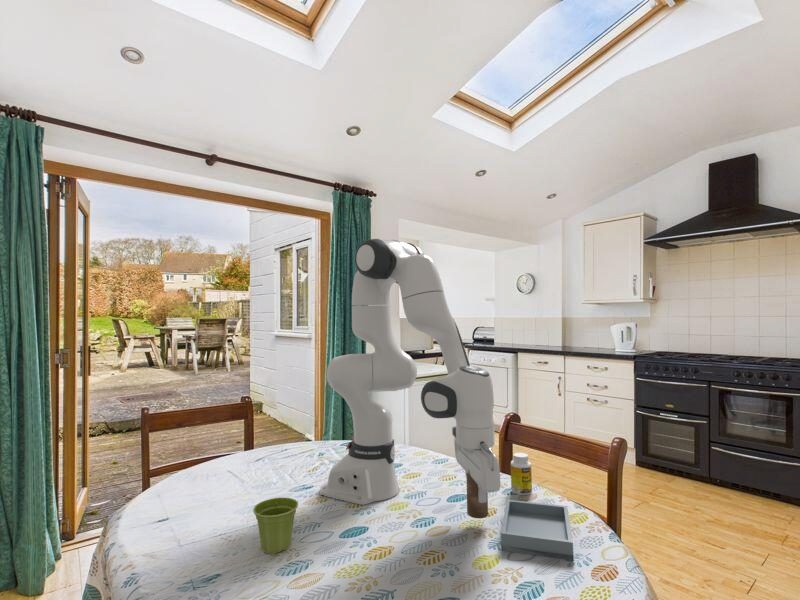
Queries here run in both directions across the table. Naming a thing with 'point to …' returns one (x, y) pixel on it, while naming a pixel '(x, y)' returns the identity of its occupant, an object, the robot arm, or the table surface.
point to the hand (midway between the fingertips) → (476, 495)
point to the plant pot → (275, 523)
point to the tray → (537, 529)
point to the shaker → (475, 500)
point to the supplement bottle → (521, 474)
